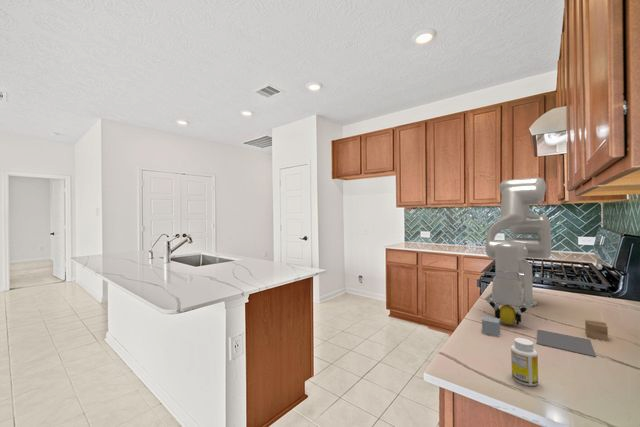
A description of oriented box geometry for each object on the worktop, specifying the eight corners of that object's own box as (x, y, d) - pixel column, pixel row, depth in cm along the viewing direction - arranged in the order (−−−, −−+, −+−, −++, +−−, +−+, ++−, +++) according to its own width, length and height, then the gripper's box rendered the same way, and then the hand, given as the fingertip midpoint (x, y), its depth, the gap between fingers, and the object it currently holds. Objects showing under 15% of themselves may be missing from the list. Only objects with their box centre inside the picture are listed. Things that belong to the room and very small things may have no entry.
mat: (537, 330, 102) (537, 329, 102) (590, 340, 93) (590, 339, 93) (536, 344, 91) (536, 343, 91) (596, 357, 82) (596, 356, 82)
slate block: (484, 329, 104) (484, 315, 104) (500, 332, 101) (500, 318, 101) (482, 333, 100) (482, 320, 100) (498, 337, 97) (498, 323, 97)
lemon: (519, 328, 104) (519, 307, 104) (503, 327, 105) (502, 306, 105) (512, 322, 109) (512, 302, 109) (497, 321, 110) (496, 301, 110)
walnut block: (585, 332, 99) (585, 319, 99) (605, 336, 96) (604, 322, 96) (587, 337, 96) (586, 323, 96) (607, 341, 92) (607, 327, 92)
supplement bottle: (532, 376, 73) (531, 337, 74) (542, 388, 68) (541, 347, 68) (508, 372, 75) (507, 335, 75) (516, 385, 70) (515, 344, 70)
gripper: (535, 276, 105) (536, 323, 104) (483, 270, 115) (484, 314, 115) (534, 279, 99) (535, 330, 99) (480, 274, 110) (480, 319, 110)
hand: (507, 321), depth 107 cm, fingers closed on lemon, 5 cm apart
